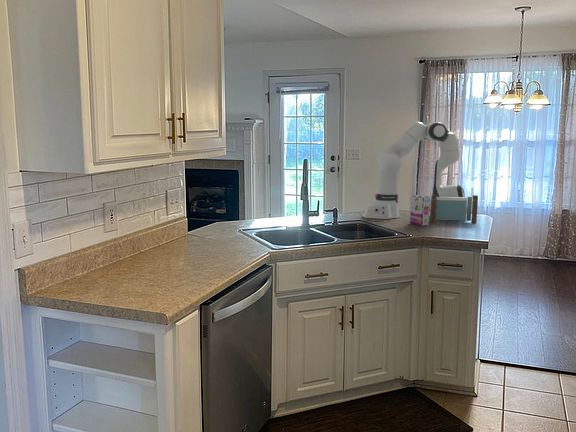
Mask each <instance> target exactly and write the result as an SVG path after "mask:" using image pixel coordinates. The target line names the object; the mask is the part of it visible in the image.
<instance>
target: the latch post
mask: <svg viewBox="0 0 576 432" xmlns="http://www.w3.org/2000/svg"><path fill="white" fill-rule="evenodd" d="M431 197H432V203H431V202H430V203H431V219H430V223H431V224H436V220H435V218H436V195H432V194H431Z"/></svg>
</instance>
